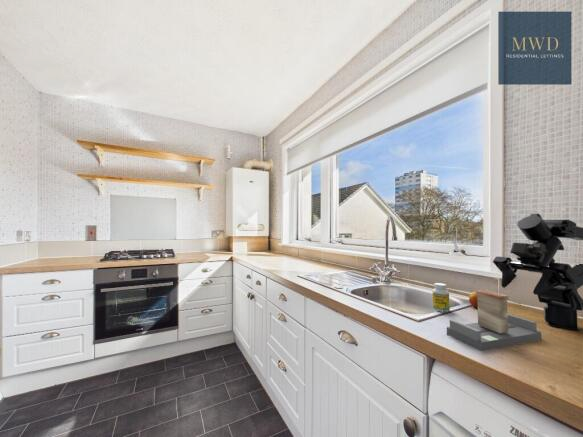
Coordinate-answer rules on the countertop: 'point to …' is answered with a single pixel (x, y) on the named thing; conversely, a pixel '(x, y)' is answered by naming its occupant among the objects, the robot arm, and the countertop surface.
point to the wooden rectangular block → (492, 311)
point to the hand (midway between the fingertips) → (517, 290)
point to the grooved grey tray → (495, 333)
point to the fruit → (473, 299)
